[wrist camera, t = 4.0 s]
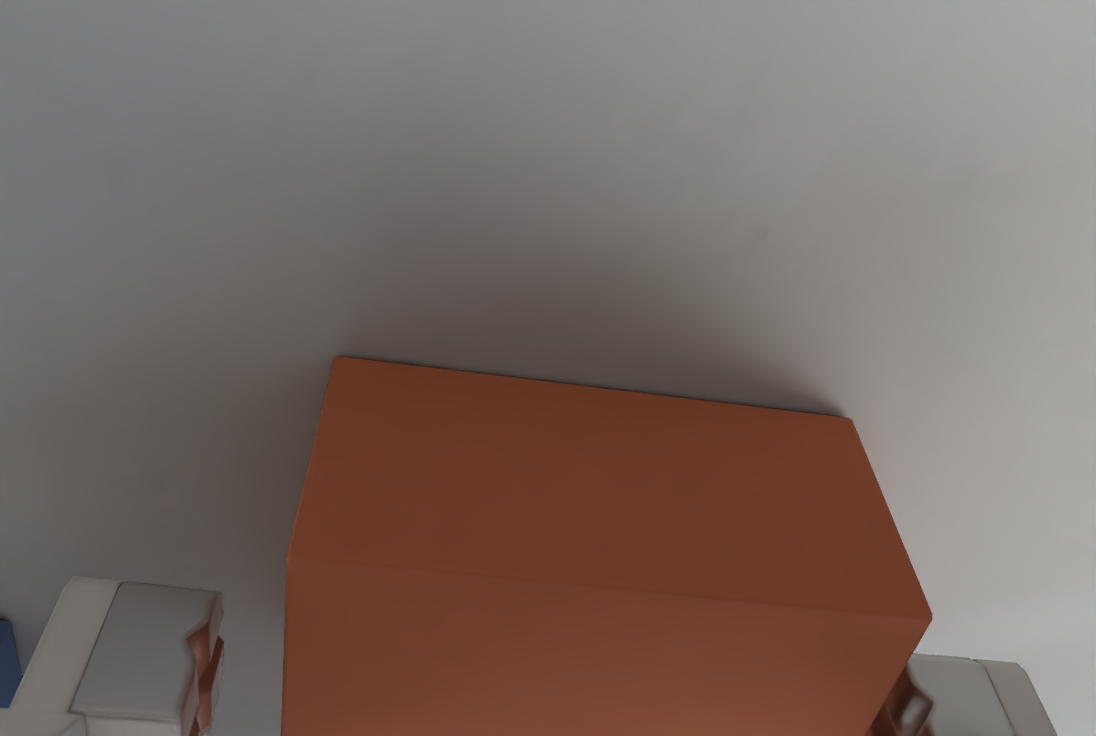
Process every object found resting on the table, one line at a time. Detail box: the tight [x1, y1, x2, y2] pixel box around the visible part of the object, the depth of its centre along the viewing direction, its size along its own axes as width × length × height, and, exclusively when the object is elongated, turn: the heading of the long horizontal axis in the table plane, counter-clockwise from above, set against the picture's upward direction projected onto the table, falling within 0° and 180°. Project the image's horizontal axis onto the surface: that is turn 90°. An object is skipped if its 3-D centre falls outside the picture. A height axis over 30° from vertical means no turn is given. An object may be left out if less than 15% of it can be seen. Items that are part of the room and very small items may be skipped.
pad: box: [281, 356, 932, 736], centre depth 12 cm, size 6×5×3 cm
